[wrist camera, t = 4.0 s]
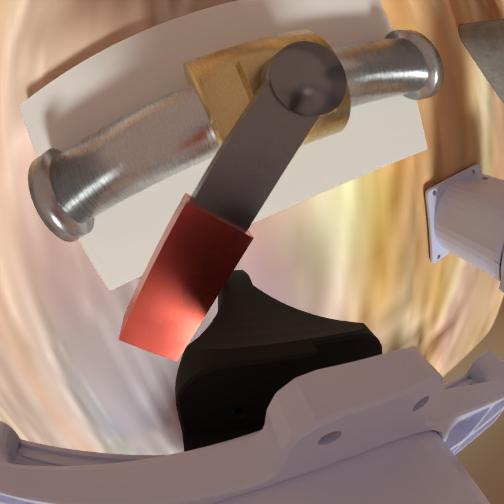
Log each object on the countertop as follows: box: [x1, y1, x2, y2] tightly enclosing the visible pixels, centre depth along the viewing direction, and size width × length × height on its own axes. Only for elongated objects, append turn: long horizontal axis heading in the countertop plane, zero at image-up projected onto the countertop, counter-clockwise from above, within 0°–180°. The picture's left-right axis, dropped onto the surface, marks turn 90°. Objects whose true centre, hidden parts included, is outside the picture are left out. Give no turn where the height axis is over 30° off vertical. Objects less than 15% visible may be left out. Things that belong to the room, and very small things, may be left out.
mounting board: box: [19, 0, 427, 291], centre depth 16 cm, size 26×14×2 cm, turn 111°
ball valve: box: [28, 30, 443, 242], centre depth 13 cm, size 24×6×7 cm, turn 111°
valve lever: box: [119, 41, 347, 361], centre depth 9 cm, size 12×3×2 cm, turn 148°
